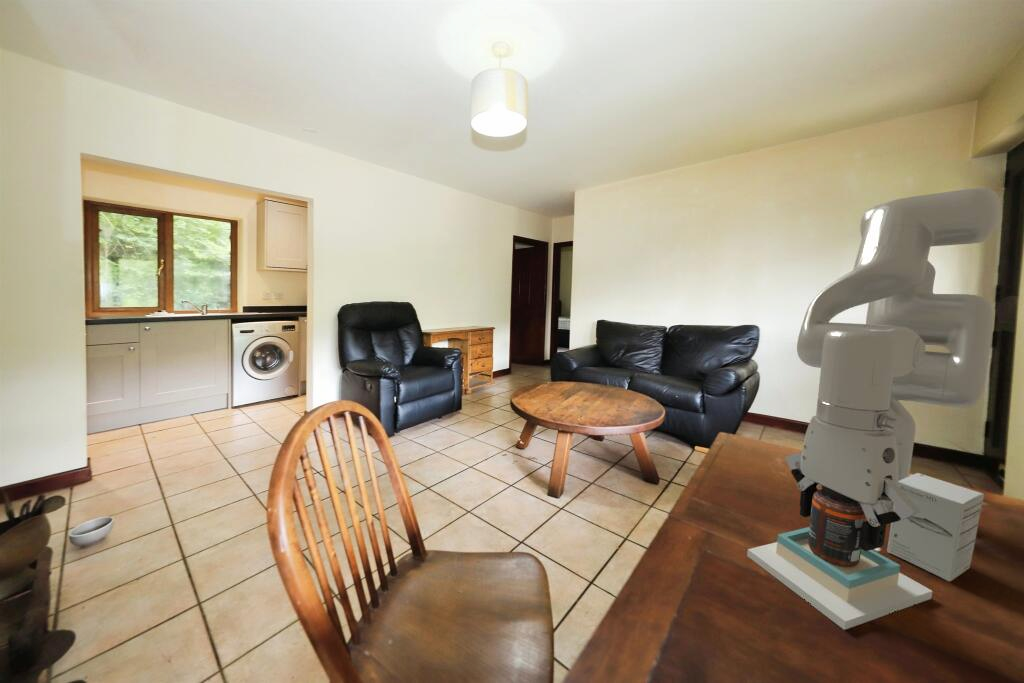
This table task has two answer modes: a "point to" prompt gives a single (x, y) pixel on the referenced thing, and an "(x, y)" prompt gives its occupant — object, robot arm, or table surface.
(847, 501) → the supplement bottle
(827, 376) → the robot arm
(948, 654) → the table surface
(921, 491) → the supplement box
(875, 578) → the teal framed tray
